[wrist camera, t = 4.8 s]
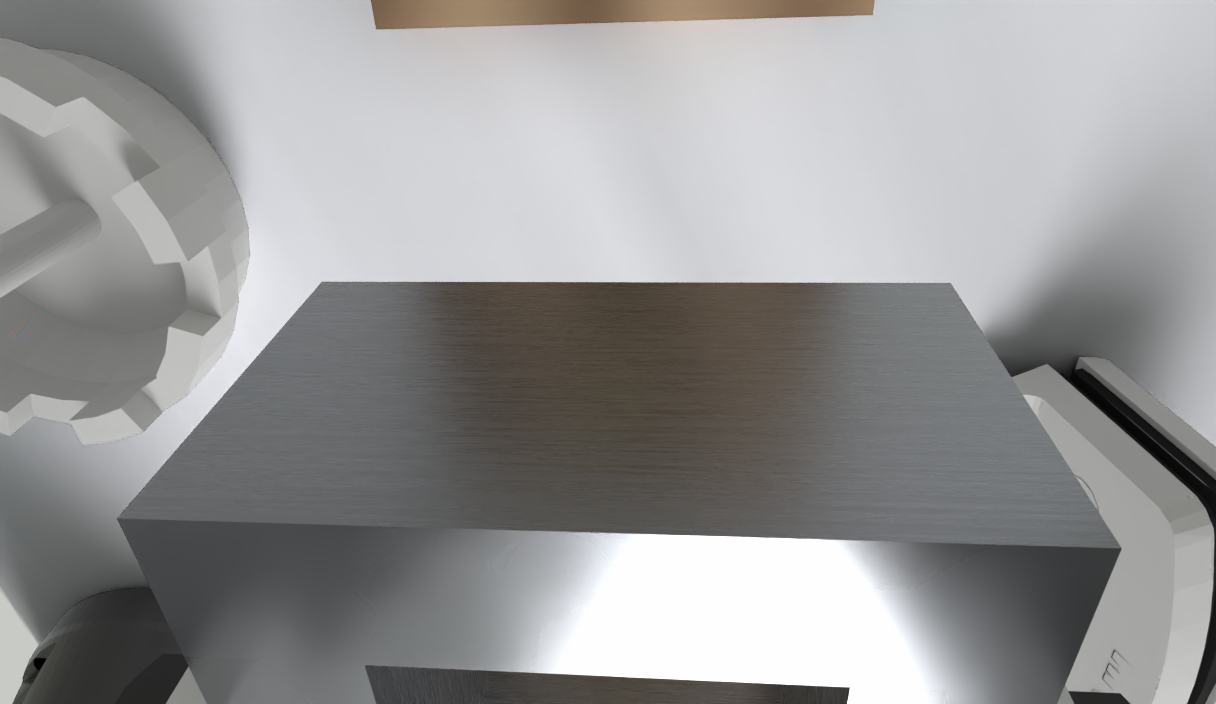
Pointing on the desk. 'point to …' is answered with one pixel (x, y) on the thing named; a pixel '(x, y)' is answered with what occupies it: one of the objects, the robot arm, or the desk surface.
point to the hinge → (1139, 532)
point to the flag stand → (107, 247)
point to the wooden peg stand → (596, 11)
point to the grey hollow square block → (624, 504)
